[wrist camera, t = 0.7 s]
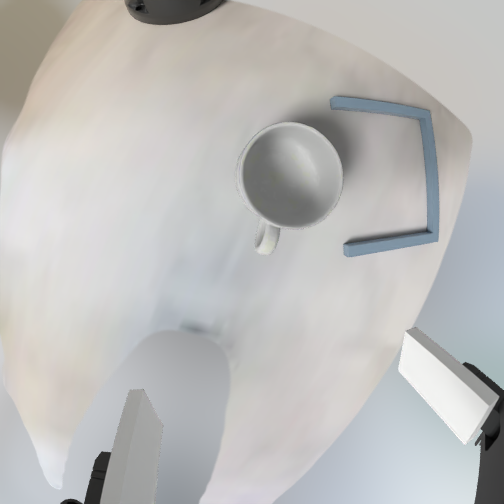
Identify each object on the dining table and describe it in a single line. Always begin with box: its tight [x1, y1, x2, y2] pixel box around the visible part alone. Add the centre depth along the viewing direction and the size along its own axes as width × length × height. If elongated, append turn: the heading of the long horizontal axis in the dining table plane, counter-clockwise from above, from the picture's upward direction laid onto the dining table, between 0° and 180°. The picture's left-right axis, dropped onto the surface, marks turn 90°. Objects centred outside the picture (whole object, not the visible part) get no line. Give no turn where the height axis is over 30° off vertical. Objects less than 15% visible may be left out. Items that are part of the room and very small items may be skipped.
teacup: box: [235, 122, 343, 255], centre depth 29 cm, size 14×11×8 cm
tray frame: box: [330, 96, 439, 257], centre depth 34 cm, size 22×18×2 cm
